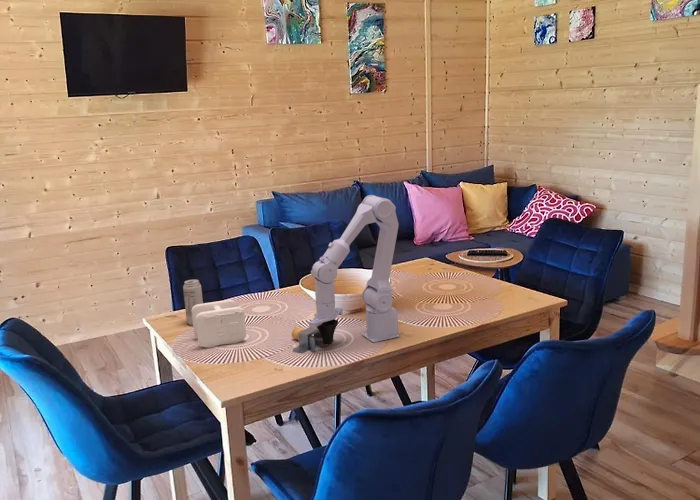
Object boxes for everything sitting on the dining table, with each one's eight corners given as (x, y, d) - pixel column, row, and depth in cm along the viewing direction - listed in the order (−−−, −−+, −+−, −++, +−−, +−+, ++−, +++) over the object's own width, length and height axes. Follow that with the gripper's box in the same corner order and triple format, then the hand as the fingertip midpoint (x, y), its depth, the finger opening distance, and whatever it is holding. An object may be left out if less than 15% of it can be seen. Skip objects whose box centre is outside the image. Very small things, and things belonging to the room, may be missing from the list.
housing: (338, 338, 204) (337, 323, 203) (309, 355, 192) (308, 339, 191) (322, 335, 207) (321, 320, 206) (293, 351, 195) (291, 336, 194)
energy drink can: (208, 322, 224) (204, 280, 221) (194, 327, 220) (189, 285, 216) (197, 319, 228) (193, 278, 225) (183, 324, 224) (178, 282, 220)
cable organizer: (240, 331, 214) (237, 298, 211) (247, 342, 204) (244, 307, 202) (194, 339, 209) (190, 305, 206) (198, 350, 199) (195, 314, 197)
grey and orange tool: (328, 344, 199) (327, 333, 199) (320, 348, 197) (319, 337, 196) (297, 336, 208) (297, 325, 207) (289, 339, 205) (289, 328, 204)
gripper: (328, 292, 202) (331, 333, 205) (299, 306, 190) (302, 349, 193) (347, 295, 198) (349, 337, 201) (319, 309, 186) (321, 353, 190)
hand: (327, 343), depth 197 cm, fingers closed
